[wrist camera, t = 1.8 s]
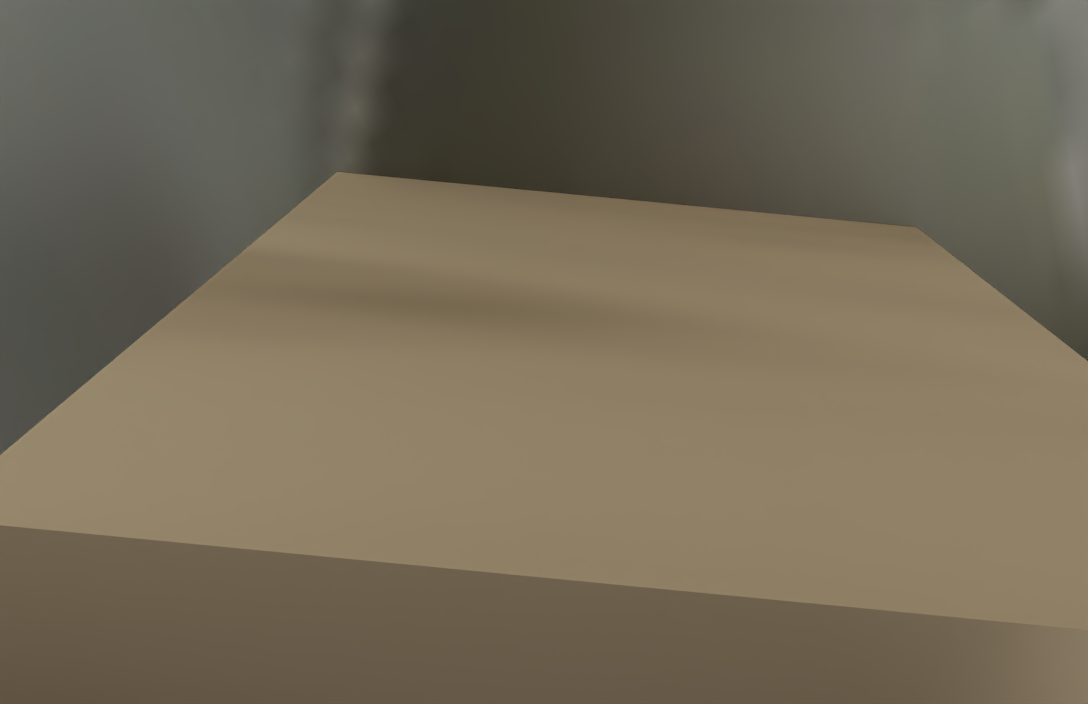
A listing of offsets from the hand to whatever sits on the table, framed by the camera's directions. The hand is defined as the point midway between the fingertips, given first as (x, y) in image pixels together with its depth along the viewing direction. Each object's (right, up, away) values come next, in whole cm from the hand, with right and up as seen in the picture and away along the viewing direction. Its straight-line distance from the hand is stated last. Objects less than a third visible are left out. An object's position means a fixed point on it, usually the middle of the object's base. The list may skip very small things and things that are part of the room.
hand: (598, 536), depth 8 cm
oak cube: (0, +1, +2) cm, 2 cm away
